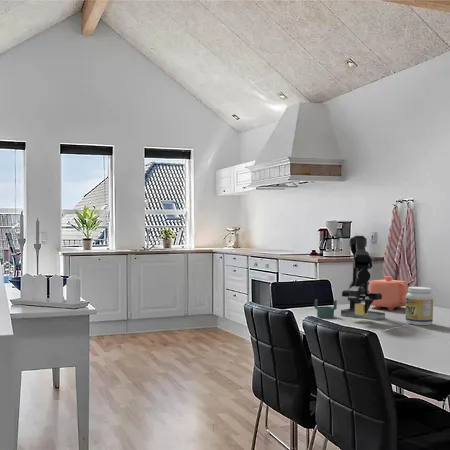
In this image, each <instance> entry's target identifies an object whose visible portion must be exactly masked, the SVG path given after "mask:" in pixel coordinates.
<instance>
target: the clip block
mask: <svg viewBox="0 0 450 450" xmlns="http://www.w3.org/2000/svg"><path fill="white" fill-rule="evenodd" d="M355 314H357V315H367V314H368V312H367V313H366V314H365V302H361V303H356V304H355Z"/></svg>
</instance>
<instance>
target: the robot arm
mask: <svg viewBox="0 0 450 450" xmlns="http://www.w3.org/2000/svg"><path fill="white" fill-rule="evenodd" d="M367 240H368V239H367V238H366V237H365V236H364V235H354V236H353V237H350V238H349V242H348V244H349V245H348V246H349V248H350V251H351V253H352V258H353V259H352V281H351V282H350V284H349V287H348V289H344V290H342V291H341V297H345V298H347V301H349V309H355V304H356V303H362V302H364V303H365V314H366V313H367V312H368V311H370V307H371V306H372V305H371V304H372V302H373V300H379V299H382V295H381V293H369V281H370V279H371V273H370V272H369V270H371V269H372V267H373V258H372V257H371V255H370V254H369V253H370V252H368V251H367V250H366V248H367V246H368V245H367V244H368V243H367V242H368V241H367ZM368 293H369V294H368Z"/></svg>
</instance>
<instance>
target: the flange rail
mask: <svg viewBox="0 0 450 450" xmlns="http://www.w3.org/2000/svg"><path fill="white" fill-rule="evenodd" d="M340 316H343V317H349V318H361V319H369V320H374V321H379V320H384V319H386V312H382V311H375V310H373V311H372V310H368V314H367V315H357V314H355V309H350V308H346V309H340Z"/></svg>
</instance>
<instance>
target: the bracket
mask: <svg viewBox="0 0 450 450" xmlns="http://www.w3.org/2000/svg"><path fill="white" fill-rule="evenodd" d="M337 301H338V300H336V299H334V300H333V306H318V299H314V309H315V310H316V311H317V312H316V318H321V319H332V318H335V310H337V309H338V308H337V305H338V303H337Z"/></svg>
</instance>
